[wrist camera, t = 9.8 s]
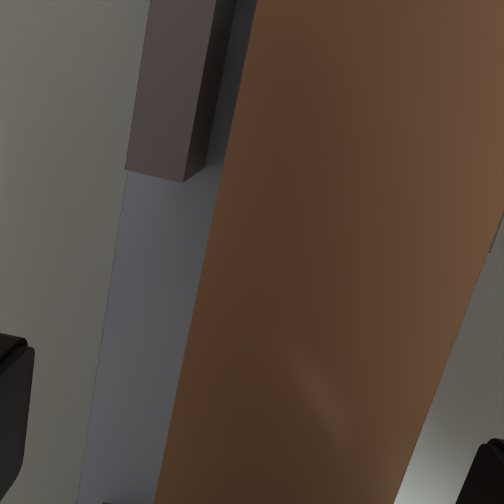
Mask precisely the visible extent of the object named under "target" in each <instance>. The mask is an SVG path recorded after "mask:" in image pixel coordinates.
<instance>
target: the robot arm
mask: <svg viewBox="0 0 504 504" xmlns="http://www.w3.org/2000/svg"><path fill="white" fill-rule="evenodd" d="M34 357H35V351H34V348H32V347H28V344H27V340H26V339H25V338H21V337H16V336H12V335H7V334H2V333H0V501H1V500H2V498H3V497H4V495H5V494H6V492H7V491H8V490H9V488H10V487H11V485H12V484H13V483H14V481H15V479H16V478H17V476H18V474H19V472H20V469H21V466H22V463H23V456H24V447H25V438H26V429H27V420H28V411H29V402H30V393H31V384H32V375H33V366H34ZM456 504H504V440H501V439H497V438H493V439H491V440H489V441H488V442H487V444H482V445H481V446H480V447H479V449H478V451H477V453H476V456H475V458H474V460H473V463H472V465H471V468H470V470H469V472H468V475H467V477H466V480H465V482H464V484H463V487H462V489H461V492H460V494H459V496H458V499H457V501H456Z"/></svg>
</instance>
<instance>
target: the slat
mask: <svg viewBox="0 0 504 504" xmlns="http://www.w3.org/2000/svg"><path fill="white" fill-rule="evenodd" d="M503 211H504V0H257V5H256V10H255V14H254V19H253V24H252V29H251V34H250V39H249V43H248V48H247V53H246V58H245V63H244V68H243V73H242V77H241V82H240V87H239V92H238V97H237V102H236V106H235V111H234V116H233V121H232V126H231V131H230V135H229V140H228V145H227V150H226V155H225V160H224V164H223V169H222V174H221V179H220V184H219V189H218V194H217V198H216V203H215V208H214V213H213V218H212V223H211V227H210V232H209V237H208V242H207V247H206V252H205V256H204V261H203V266H202V271H201V276H200V281H199V285H198V290H197V295H196V300H195V305H194V310H193V315H192V319H191V324H190V329H189V334H188V339H187V344H186V348H185V353H184V358H183V363H182V368H181V373H180V377H179V382H178V387H177V392H176V397H175V402H174V407H173V411H172V416H171V421H170V426H169V431H168V436H167V440H166V445H165V450H164V455H163V460H162V465H161V469H160V474H159V479H158V484H157V489H156V494H155V498H154V503H153V504H394V501H395V499H396V496H397V493H398V491H399V488H400V485H401V483H402V480H403V477H404V475H405V472H406V469H407V467H408V464H409V461H410V459H411V456H412V453H413V451H414V448H415V445H416V443H417V440H418V437H419V435H420V432H421V429H422V427H423V424H424V421H425V419H426V416H427V413H428V411H429V408H430V405H431V403H432V400H433V397H434V395H435V392H436V389H437V387H438V384H439V381H440V379H441V376H442V373H443V371H444V368H445V365H446V363H447V360H448V357H449V355H450V352H451V349H452V347H453V344H454V341H455V339H456V336H457V333H458V331H459V328H460V325H461V323H462V320H463V317H464V315H465V312H466V309H467V307H468V304H469V301H470V299H471V296H472V293H473V291H474V288H475V285H476V283H477V280H478V277H479V275H480V272H481V269H482V267H483V264H484V261H485V259H486V256H487V253H488V251H489V248H490V245H491V243H492V240H493V237H494V235H495V232H496V229H497V227H498V224H499V221H500V219H501V216H502V213H503Z"/></svg>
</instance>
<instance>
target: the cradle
mask: <svg viewBox="0 0 504 504" xmlns="http://www.w3.org/2000/svg"><path fill="white" fill-rule="evenodd" d="M256 5H257V0H150V7H149V13H148V20H147V27H146V33H145V40H144V47H143V53H142V60H141V67H140V73H139V80H138V86H137V93H136V100H135V106H134V113H133V120H132V126H131V133H130V140H129V146H128V153H127V159H126V166H125V170H127V177H126V183H125V190H124V196H123V203H122V209H121V216H120V223H119V229H118V236H117V242H116V249H115V255H114V262H113V269H112V275H111V282H110V288H109V295H108V301H107V308H106V315H105V321H104V328H103V334H102V341H101V347H100V354H99V361H98V367H97V374H96V380H95V387H94V393H93V400H92V407H91V413H90V420H89V426H88V433H87V439H86V446H85V453H84V459H83V466H82V472H81V479H80V485H79V492H78V499H77V504H153V503H154V498H155V494H156V489H157V484H158V479H159V474H160V469H161V465H162V460H163V455H164V450H165V445H166V440H167V436H168V431H169V426H170V421H171V416H172V411H173V407H174V402H175V397H176V392H177V387H178V382H179V377H180V373H181V368H182V363H183V358H184V353H185V348H186V344H187V339H188V334H189V329H190V324H191V319H192V315H193V310H194V305H195V300H196V295H197V290H198V285H199V281H200V276H201V271H202V266H203V261H204V256H205V252H206V247H207V242H208V237H209V232H210V227H211V223H212V218H213V213H214V208H215V203H216V198H217V194H218V189H219V184H220V179H221V174H222V169H223V164H224V160H225V155H226V150H227V145H228V140H229V135H230V131H231V126H232V121H233V116H234V111H235V106H236V102H237V97H238V92H239V87H240V82H241V77H242V73H243V68H244V63H245V58H246V53H247V48H248V43H249V39H250V34H251V29H252V24H253V19H254V14H255V10H256ZM503 216H504V211H503V213H502V216H501V219H500V221H499V224H498V227H497V229H496V232H495V235H494V237H493V240H492V243H491V245H490V248H489V251H488V253H490V251H491V248H492V246H493V243H494V240H495V238H496V235H497V232H498V230H499V227H500V224H501V222H502V219H503Z"/></svg>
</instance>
